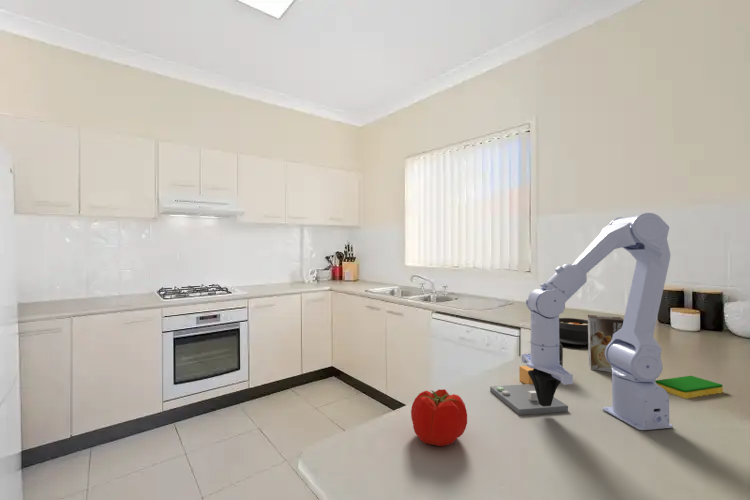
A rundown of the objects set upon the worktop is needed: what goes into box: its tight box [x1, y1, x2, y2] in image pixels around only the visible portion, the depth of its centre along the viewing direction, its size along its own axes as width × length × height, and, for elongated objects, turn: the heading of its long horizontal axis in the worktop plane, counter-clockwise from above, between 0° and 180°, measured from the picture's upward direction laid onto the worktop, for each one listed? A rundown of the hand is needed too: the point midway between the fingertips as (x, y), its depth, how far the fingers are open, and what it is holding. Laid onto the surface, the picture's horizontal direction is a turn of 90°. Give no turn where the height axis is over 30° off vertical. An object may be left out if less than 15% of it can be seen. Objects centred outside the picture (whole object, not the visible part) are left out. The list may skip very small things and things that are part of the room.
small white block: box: [528, 391, 538, 401], centre depth 79 cm, size 1×2×2 cm
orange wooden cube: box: [518, 365, 533, 384], centre depth 92 cm, size 4×4×4 cm
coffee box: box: [587, 314, 624, 373], centre depth 104 cm, size 9×6×16 cm
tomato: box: [410, 389, 468, 447], centre depth 64 cm, size 11×11×9 cm
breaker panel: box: [489, 383, 569, 416], centre depth 81 cm, size 13×12×2 cm
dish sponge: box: [655, 375, 724, 400], centre depth 88 cm, size 7×14×2 cm, turn 106°
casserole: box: [559, 317, 588, 346], centre depth 136 cm, size 25×19×8 cm
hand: (545, 404), depth 74 cm, fingers closed
